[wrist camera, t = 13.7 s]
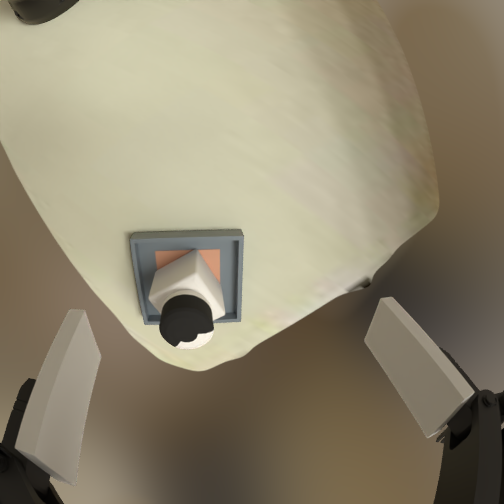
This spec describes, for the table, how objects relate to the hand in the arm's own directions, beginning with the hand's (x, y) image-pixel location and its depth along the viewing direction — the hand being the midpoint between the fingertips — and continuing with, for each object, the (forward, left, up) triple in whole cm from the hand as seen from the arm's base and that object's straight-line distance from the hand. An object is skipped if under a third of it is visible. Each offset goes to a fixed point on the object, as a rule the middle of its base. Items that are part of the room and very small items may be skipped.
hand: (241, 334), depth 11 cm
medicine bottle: (+12, -4, -26) cm, 29 cm away
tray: (+12, -4, -27) cm, 30 cm away
